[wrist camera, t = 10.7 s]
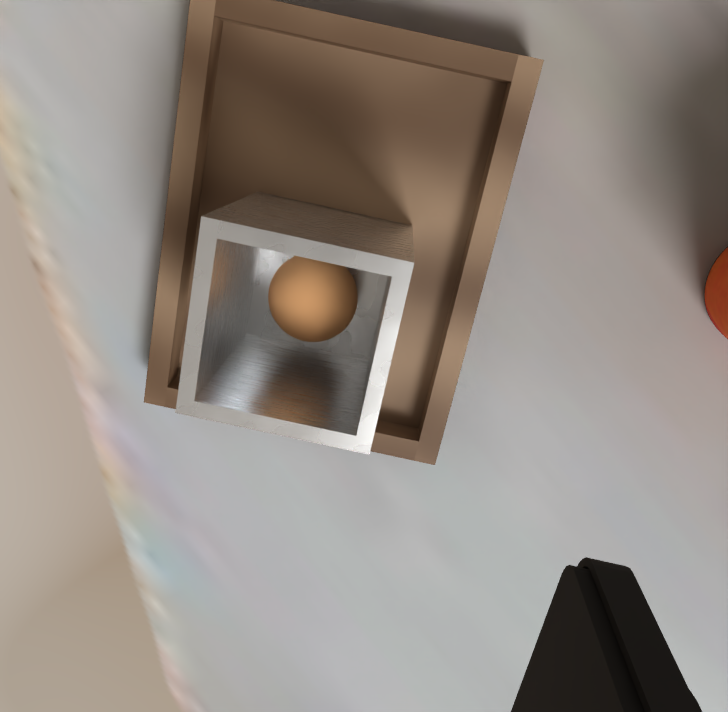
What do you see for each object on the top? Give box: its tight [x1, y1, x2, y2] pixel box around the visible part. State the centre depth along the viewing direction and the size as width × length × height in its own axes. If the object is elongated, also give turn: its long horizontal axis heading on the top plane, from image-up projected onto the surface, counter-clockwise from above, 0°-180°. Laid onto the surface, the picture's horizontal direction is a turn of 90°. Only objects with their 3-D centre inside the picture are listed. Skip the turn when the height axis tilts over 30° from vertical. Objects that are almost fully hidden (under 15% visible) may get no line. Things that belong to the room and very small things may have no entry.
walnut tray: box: [144, 0, 544, 465], centre depth 31 cm, size 18×14×2 cm
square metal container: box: [175, 192, 414, 455], centre depth 28 cm, size 7×7×9 cm
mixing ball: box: [268, 256, 358, 342], centre depth 30 cm, size 4×4×4 cm
